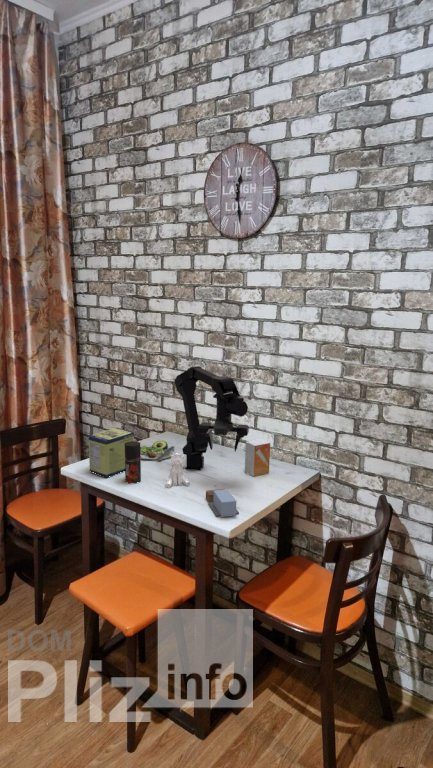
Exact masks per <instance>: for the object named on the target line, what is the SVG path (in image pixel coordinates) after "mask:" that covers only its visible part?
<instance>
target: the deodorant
mask: <svg viewBox="0 0 433 768" xmlns="http://www.w3.org/2000/svg"><path fill="white" fill-rule="evenodd" d="M140 447H141V442H140V441H136V440H134V441H130V442H126V443H125V472H124V473H125V474H124V475H125V477H124V478H125V480H126V481H125V480H124V481H125V483H126V482H128V483H127V484H130V483H135V484H138V483H137V482H139V483H140V482H141V481H142V467H141V466H142V464H141V461H142V459H141V457H142V455H141V451H140Z"/></svg>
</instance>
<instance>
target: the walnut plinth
mask: <svg viewBox="0 0 433 768" xmlns="http://www.w3.org/2000/svg"><path fill="white" fill-rule="evenodd" d="M225 489H226V488H219V489H218V488H217V489H207V490H205V500H206V502H208V503H211V502H213V494H214V491H215V490H225ZM208 503H207V504H208Z"/></svg>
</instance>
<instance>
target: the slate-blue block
mask: <svg viewBox="0 0 433 768" xmlns="http://www.w3.org/2000/svg"><path fill="white" fill-rule="evenodd" d="M224 489H225V490H217V489H214V490H215V491H214V494H213V504H214V506H215V507H216V509H217V510H218V512H219V513H220V515H221V516H220V517H222V518H223V517H231V516H237V515H236V509H237V500H236V497H234V496H233V494H232V493H231V492H230V490H229V489H227V488H224Z"/></svg>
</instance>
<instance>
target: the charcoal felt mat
mask: <svg viewBox="0 0 433 768" xmlns="http://www.w3.org/2000/svg"><path fill="white" fill-rule="evenodd" d="M207 505H208V507H209V508H210V509H211V511H212V513H213V514H214V516H215V517H216V518H218V517H222V516H221V515H220V513H219V512H218V510H217V509H216V507H215V506H214V504H213V502H211V503H207ZM237 515H240V512H239V511H238V509H237V508H236V515H235V516H237Z"/></svg>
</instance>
